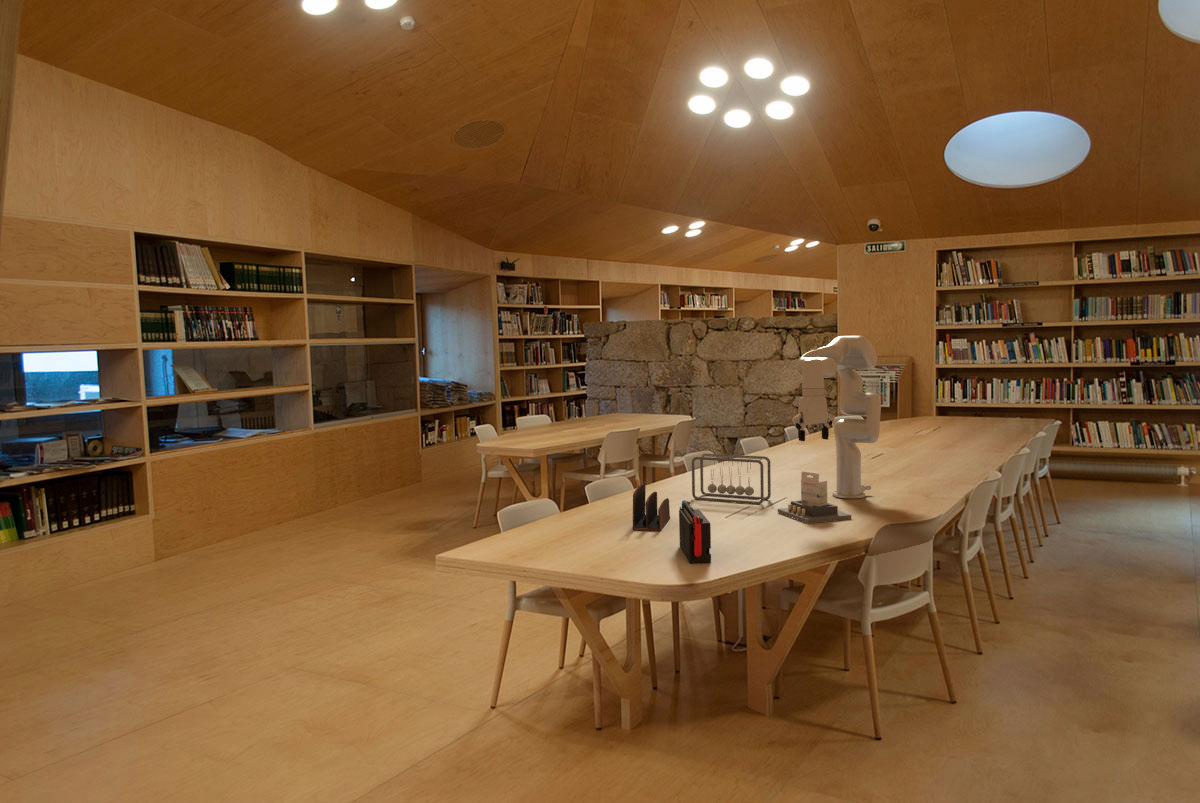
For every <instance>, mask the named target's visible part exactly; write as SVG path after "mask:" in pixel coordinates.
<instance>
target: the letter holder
mask: <svg viewBox="0 0 1200 803" xmlns="http://www.w3.org/2000/svg"><path fill="white" fill-rule="evenodd" d="M646 486H647V485H646V483H642V484H640V485H638V487H637V488H636V489H635V490H634V491H633V494H632V531H640V532H642V531H643V532H661V531H662V530H663V529H664V527H665V526H666V524H667V523H668V522H669V521H670V519H671V513H670V499H669V498H668V497H666V498H665V499H663V501H662V502H661V504H660V506H659V507H658V492H657V491H653V492H651V493H650V495H649V496H648V497H647V498H646V492H647V491H646Z"/></svg>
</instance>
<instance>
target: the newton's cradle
mask: <svg viewBox="0 0 1200 803" xmlns="http://www.w3.org/2000/svg"><path fill="white" fill-rule="evenodd" d="M696 460H698V461H699V468H700V469H699V470H700V473H699V474H700V475H699V476H700V479H699V480H700V493H701V494H702V495H701V496H696V483H695V481H696V479H695V478H696V477H695V474H696V472H695V461H696ZM762 460H766V463H767V496H766V497H765V496H764V491H765V490H764V463H763V462H762ZM704 461H713V464H715V461H719V462H722V465H724V463H725V462H731V465H733V462H734V463H735V462H737V463H741V464H740V466H742V463H749V468H748V465H746V466H747V472H749V469H751V468H752V467H751V465H752V464H751V463H758V464H759V465H760V469H759V470H760V473H759V474H760V476H759V477H760V496H753V494H754V492H755V490H754V488H753V486H750V485H751V480H750V478H747V481H748V482H747V483H748V486H746V487H744V486H742V484H741V482H742V477H739V479H738V482H739V484H738V486H736V487H735V486H734V485H733V483H732V478H733V477H732V476H733V475H730V480H729V484H730V485H727V486H726V485H725V484H724V483H723V481H724V475H721V479H720V481H721V482H720V483H721V484H719V485H718V486H717V485H716V484H715V483H714V482H711V484H709V485H708V486H707V490H708V492H705V491H704V463H703V462H704ZM739 468H740V467H738V468H737V470H738V474H740V469H739ZM730 469H731V468H730V467H728V471H729V474H731V472H730V471H731V470H730ZM719 470H720V472H719V473H720V474H722V471H721V467H719ZM712 471H713V474H712ZM710 472H711V473H710V475H711V479H713V477H714V474H715V470H710ZM771 477H772V476H771V460H770V458H769V457H767V456H761V455H741V454H740V455H739V454H720V453H717V454H716V453H702V454H701V456H700V455H699V456H694V457H693V458H692V460H691V494H692V498H693V499H694V500H697V501H706V500H708V502H719V501H721V502H720V503H732V502H736V504H745V503H749V504H750V505H758V504H759V505H761V504H763V502H764V501H768V500H769V499H771V494H772V492H771V488H772V487H771V479H772V478H771ZM716 492H718V493H716ZM725 493H727V494H725ZM735 493H736V495H735ZM744 494H745V495H744ZM705 496H707V497H705ZM717 496H718V497H719V498H715V497H717ZM713 497H714V498H713ZM721 497H722V498H721ZM730 497H734V498H733V499H729V498H730ZM724 498H725V499H724ZM726 498H727V499H726ZM744 498H748V500H739V499H744ZM757 499H761V500H759V501H755V500H757ZM752 500H753V501H752ZM749 504H748V505H749Z"/></svg>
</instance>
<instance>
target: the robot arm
mask: <svg viewBox="0 0 1200 803" xmlns="http://www.w3.org/2000/svg"><path fill="white" fill-rule="evenodd" d="M796 363H797V364H796V372H797V374H798V376H799V377H801V379H802V382H801V384H802V386H801V387H802V389H801V390H802V391H801V392H802V393H801V394H802V396H800V397H799V402H798V410H797V411H798V412H797V414H796V415H795V416H793V417H792V418H791V421H792V424H793V426H794V428H796V430H797V433H798V434H797V436H798V441H799V442H805V441H806V430H805V428H806V427H807V426H809V425H811V426H813V425H821V426H822V428H821V439H823V440H825V441H826V440H829V436H830V435H829V430H830V428H831V426H832V425H833V423H834V420H835V418H836V417H835V415H833V414H831V413H830V412H829V411H828V404H827V398H826V396H825V393H827V389H826V388H825V379H828V378H833V377H834V376H835V374H836V373H838V376H839V378H840V392H839V393H840V394H839V395H840V396H839V412H840V413H841V414H842V415H844V416H853V417H855V416H856V417H857V416H858V417H866V419H863V418H842V419H841V418H840V419H839V420H837V421H835V423H834V426H833V434H834V440H835V449H836V458H835V460H836V490H835V491H833V492H832V496H833V497H834V498H839V499H863V498H865V497H866V493H865V491H871V490H872V486H871V485H864V484H862V454H861V450H860V448H859V446H857V444H873V443H876V442H877V441H878V440H879V437H880V430H881V429H880V428H881V426H880V425H881V412H882V410H881V409H882V406H881V405H882V403H881V398H880V396H879V395H878V394H877V393H875V392H865V391H864V392H863V387H864V386H863V385H864V383H863V382H864V381H863V378H862V377H861V375H860V374H859V373H858V371H857V370H872V369H874V368H875V367H876V366H877V363H878V355H877V351H876V349H875V348H874V346H873V345H872V343H871V342H870V341H869V339H868V338H867V337H865V336H864V335H859V334H858V335H840V336H837V337H834V338H833V339H832V340H831V341H830V342H829V343H828V344H826V346H822V347H819V348H817V349H812V350H810V351H808V352H805V353H804V354H803V355H802V356H800V357H799V359H798V361H797V362H796ZM856 443H857V444H856Z"/></svg>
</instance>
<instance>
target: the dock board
mask: <svg viewBox="0 0 1200 803" xmlns="http://www.w3.org/2000/svg"><path fill="white" fill-rule="evenodd" d="M778 512H779V513H778ZM777 513H778V514H780V513H782V514H784V515H783V516H785V515H787V516H786V517H788V516H790V517H789V518H791V517H793V518H795V519H794V520H796V519H798V520H797V521H799V520H800V522H801V521H803V522H802V523H804V522H806V523H805V524H807V523H811V524H816V523H815V522H820V523H826V522H825V521H829V522H835V521H834V520H838V521H844V520H843V519H847V520H852V514H850V513H847V512H843V511H840V510H838V505H835V504H832V503H829V502H827V506H826V507H816V508H813V507H810V506H807V505H804V504H801V499H800V500H791V501H790V503H788V504H787V507H783V508H777ZM782 514H781V515H782ZM793 518H792V519H793Z"/></svg>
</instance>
